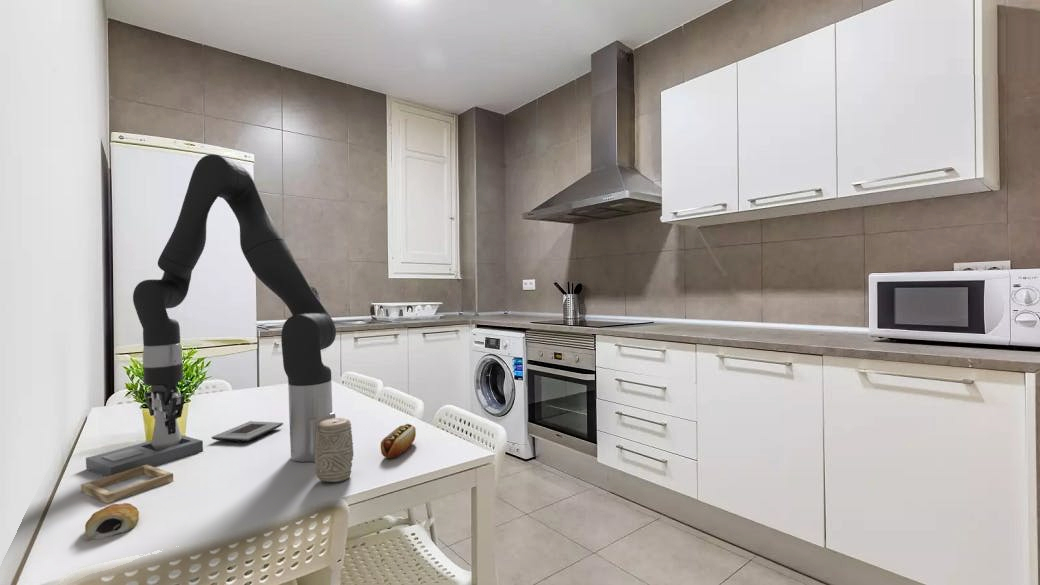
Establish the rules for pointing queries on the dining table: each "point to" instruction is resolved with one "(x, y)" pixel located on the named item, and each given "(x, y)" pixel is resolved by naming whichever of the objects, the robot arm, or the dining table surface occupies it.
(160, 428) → the salt shaker
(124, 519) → the pastry
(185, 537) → the dining table surface
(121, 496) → the wooden square frame
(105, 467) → the grey rectangular frame
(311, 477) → the dining table surface
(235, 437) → the electrical outlet
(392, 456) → the hot dog
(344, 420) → the carving
